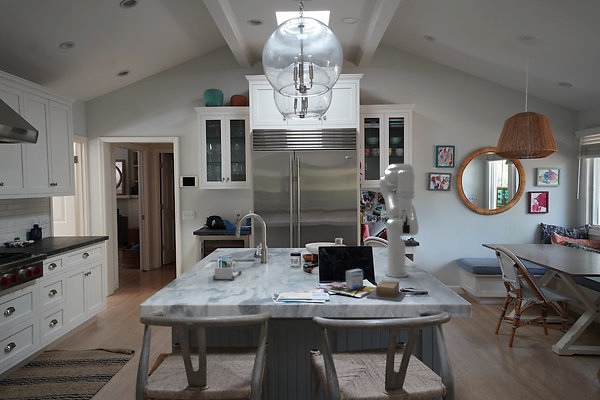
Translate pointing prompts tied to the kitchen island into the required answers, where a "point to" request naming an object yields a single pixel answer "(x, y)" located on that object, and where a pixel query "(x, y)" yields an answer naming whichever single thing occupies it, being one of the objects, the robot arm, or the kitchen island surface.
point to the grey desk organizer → (226, 272)
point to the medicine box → (354, 278)
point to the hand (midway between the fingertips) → (406, 233)
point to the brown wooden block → (387, 288)
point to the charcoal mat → (397, 297)
